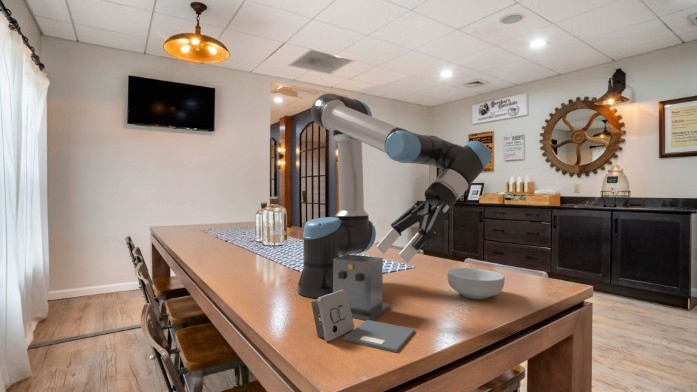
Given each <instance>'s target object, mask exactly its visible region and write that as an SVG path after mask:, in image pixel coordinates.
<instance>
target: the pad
mask: <svg viewBox="0 0 697 392" xmlns="http://www.w3.org/2000/svg"><path fill="white" fill-rule="evenodd" d="M414 333H415V328H411V327H407V326H401V325H395V324H390V323H386V322H381V321H377V320H376V321H375V320H374V321H371V320H364V322H362V323H361V324H359V325H358V326H357V327H356V328H355V327H354V329H353V330H352V331H350V332H348V333H346V334H345V336H343V341H345V342H350V343H354V344H356V345H357V344H359V345H362V346H365V347H366V346H367V347H370V348H374V349H375V348H376V349H379V350H383V351H388V352H392V353H398V351H399V350H400V349H401V348H402V347H403V346H404V345H405V343H406V342H407V341H408V340H409V339H410V337H412V335H414Z"/></svg>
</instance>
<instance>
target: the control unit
mask: <svg viewBox="0 0 697 392" xmlns="http://www.w3.org/2000/svg"><path fill="white" fill-rule="evenodd" d="M383 259H384V258H383V257H378V256H377V257H376V256H370V255H369V256H368V255H358V254H347V255H343V256H340V257H337V258H334V259H333V293H334V292H337V291H340V290H346V291H347V294H348V299H349V304H350V309H351V313H352V318H353V319H358V320H363V321H366V320H371V321H375V320H376V319H378V318H379V317H380V316H381V315H383V314H384V313H385V312H386V311H388V310H389V309H391V304H390V303H387V302H383V286H384V285H383V280H384V279H383V278H384V276H383V274H384V272H383V269H384V268H383V267H384V265H383V264H384V263H383V262H384V260H383Z"/></svg>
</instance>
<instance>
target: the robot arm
mask: <svg viewBox="0 0 697 392" xmlns="http://www.w3.org/2000/svg"><path fill="white" fill-rule="evenodd" d="M310 111H311V112H310V113H311V118H312V120H313V122H314V123H315V124H316V125H317V126H319V127H321V128H323V129H325V130H328V131H332V138H333V140H335V141H336V143H337V161H338V162H337V164H338V165H337V167H338V168H337V169H338V171H337V172H338V200H339V201H338V203H339V210H338V212H337V213H336V214H335V217H333V216H327V217H318V218H312V219H310V220H308V221H306V222H305V224H304V226H303V233H302V237H303V268H302V270H301V275H300V277H299V280H298V284H297V293H298V295H301V296H304V297H307V298H313V299H318V298H319V297H321V296H325V295H328V294H331V293H333V259H334V258H337V257H340V256H343V255H347V254H350V255H358V254H361V253H364V252H367V251H369V250H370V249H371V248H372V247H373V245H374V244H375V241H376V237H377V231H376V226H375V225H374V224H373V222H372V221H371V220H369V213H368V212H367V211H366V210H365V201H364V199H365V198H364V197H365V196H364V172H363V171H364V170H363V169H364V168H363V165H364V163H363V144H366V145H368V146H369V147H371V148H372V147H373V148H374V149H377V150H379V151H380V152H383V153H385V154H387V156H388V158H389V159H391V160H392V161H395V162H399V163H402V164H407V163H408V164H417V165H426V166H433V167H436V168H438V169H440V170H442V171H441V172H440V173H439V175H437V176H436V177H435V179H434V181H433V182H431V184H430V185H429V186H428V187H427V188H426V190H425V191H424V197H425V200H424V201H422V202H420V201H416V202H415V203H414V204H413V205H412V206H411V207H410V208H408V209H407V211H405V212H404V213H403V214H402V215H400V216H399V217H398V218H397V219H395V220H394V221H393V222H392V223H391V224H390V226H391V229H390V230H389V231H388V232H387V233H386V235H385V236H384V237H383V238H382V239H381V240H380V241H379V242H378V244H377V245H376V248H377V249H379V251H380V252H381V253H382V254H386V252H387V251H388V250H389V249H390V248H391V247H392V246H393V244H394V243H395V242H396V241H397V240H398V239H399V237H401V236H402V232H404V231H406V230H408V229H409V228H410V227H412V226H413V225H415V224H416V223H421V228H419V229H417V231H418V232H416V233H415V234H414V236H412V238H411V239H410V240H409V241H408V242H407V244H406V245H405V246H404V247H403V248H402V250H401V251H400V252H399V253H398V256H399V257H400V258H401V259H402V260H403V261H404V262H405V263H407V264H408V263H410V261H411V260H412V259H413V258H414V256H416V254H417V253H418V252H419V251H420V249H421V248H422V247H423V246H424V245H425V244H426V242H427V241H428V242H429V241H430V240H431V239H432V240H436V239H437V238H438V236H439V233H440V232H441V230H442V228H443V225H444V223H445V221H446V218H447V216H448V215H449V213H451V211H452V208H453V206H454V205H455V204H456V203H457V201H458V200H459V199H460V198H461V197H463V196H464V194H465V192H466V191H467V189H468V188H469V187H471V184H472V183H474V182H475V180H476V179H477V178H478V176H479V175H481V174H482V173H483V172H484V171H485V169H486V167H487V166H488V164H489V163H490V162H491V161H492V152H491V150H490V148H488V146H487V145H485V143H483V142H480V141H478V140H470V141H468V142H467V143H466V144H465V145H464V146H463V145H459V144H455V143H453V142H450V141H448V140H445V139H442V138H440V137H438V136H434V135H432V134H419V133H417V132H416V133H415V132H414V131H410V130H407V129H404V128H402V127H399V126H396V125H394V124H393V123H392V124H391V123H389V122H387V121H383V120H381V119H378V118H376V117H374V116H373V114H372V111H371V109H370V107H369V105H367V103H365V102H362V101H360V100H359V99H356V98H355V99H354V98H350V97H346V96H341V95H338V94H336V93H324V94H321V95H319V96H318V97H317V98H316V99H315V100H314V101H313V103H312V105H311V109H310Z"/></svg>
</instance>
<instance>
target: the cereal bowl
mask: <svg viewBox="0 0 697 392" xmlns="http://www.w3.org/2000/svg"><path fill="white" fill-rule="evenodd" d="M446 276H447V282H448V284H449V286H450V288H451V289H452V290H454V291H456V292H457V293H460V295H461V296H463V297H465V298H467V299H468V298H469V299H474V300H486V299H488V298H489V297H494V296H497V295H498V294H500V293H501V291H502V290H503V288H504V287H505V275H504V274H502V273H499V272H496V271H493V270H489V269H483V268H477V267H454V268H449V269H448V270H447V273H446Z"/></svg>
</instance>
